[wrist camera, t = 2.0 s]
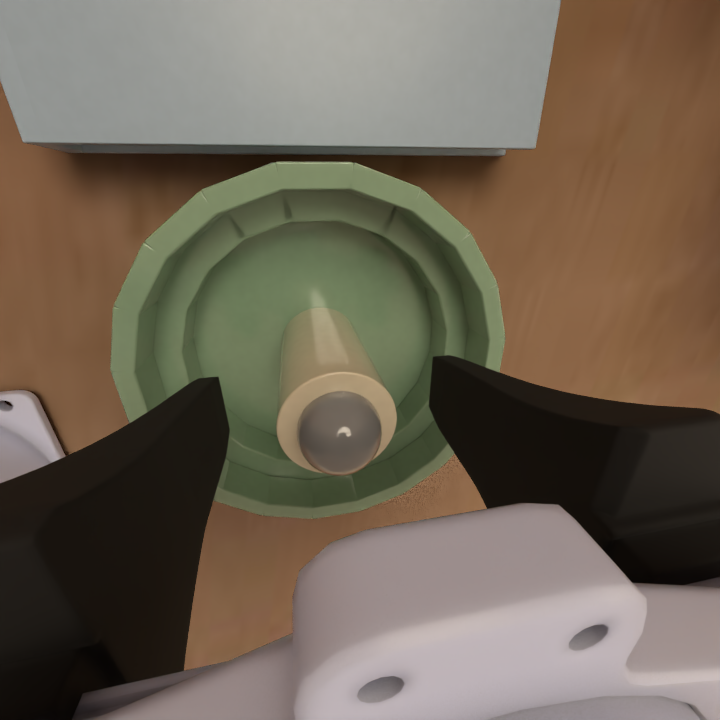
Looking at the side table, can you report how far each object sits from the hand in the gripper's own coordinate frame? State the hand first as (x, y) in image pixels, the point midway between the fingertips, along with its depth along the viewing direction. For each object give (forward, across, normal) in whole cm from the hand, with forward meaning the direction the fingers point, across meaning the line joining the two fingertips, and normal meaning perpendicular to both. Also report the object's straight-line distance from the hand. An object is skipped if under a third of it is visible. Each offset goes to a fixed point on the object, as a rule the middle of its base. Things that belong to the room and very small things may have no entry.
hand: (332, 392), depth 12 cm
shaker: (+4, 0, 0) cm, 4 cm away
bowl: (+5, 0, 0) cm, 5 cm away
